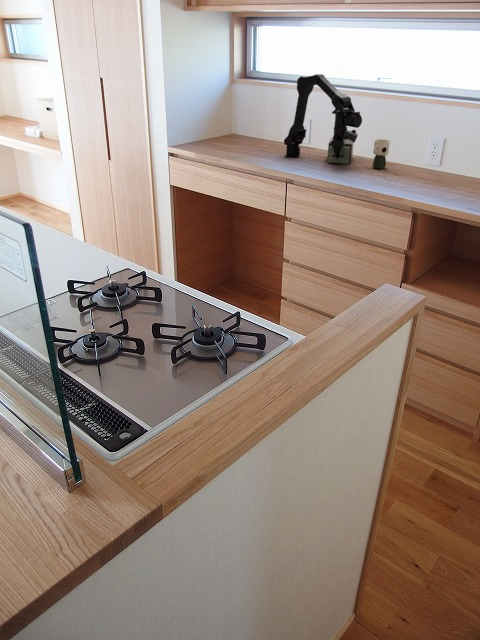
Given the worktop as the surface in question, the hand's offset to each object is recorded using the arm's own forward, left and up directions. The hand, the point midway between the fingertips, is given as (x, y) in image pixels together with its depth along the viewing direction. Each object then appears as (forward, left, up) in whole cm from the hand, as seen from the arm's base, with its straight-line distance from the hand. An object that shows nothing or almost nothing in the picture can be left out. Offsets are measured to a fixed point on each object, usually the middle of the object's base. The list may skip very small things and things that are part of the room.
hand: (337, 158), depth 264 cm
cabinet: (0, +16, -4) cm, 17 cm away
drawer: (0, +10, -3) cm, 10 cm away
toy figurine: (+20, +4, -5) cm, 21 cm away
